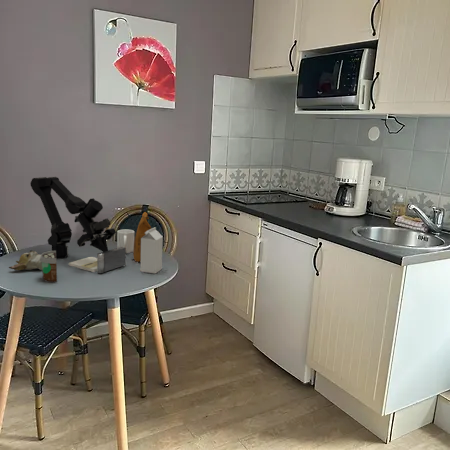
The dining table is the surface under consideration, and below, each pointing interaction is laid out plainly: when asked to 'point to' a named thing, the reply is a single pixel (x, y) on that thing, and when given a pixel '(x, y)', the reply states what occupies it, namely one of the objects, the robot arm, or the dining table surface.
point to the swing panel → (111, 259)
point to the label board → (85, 264)
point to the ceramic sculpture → (28, 261)
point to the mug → (125, 239)
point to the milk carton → (151, 251)
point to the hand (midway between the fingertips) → (107, 252)
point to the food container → (49, 266)
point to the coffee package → (140, 236)
